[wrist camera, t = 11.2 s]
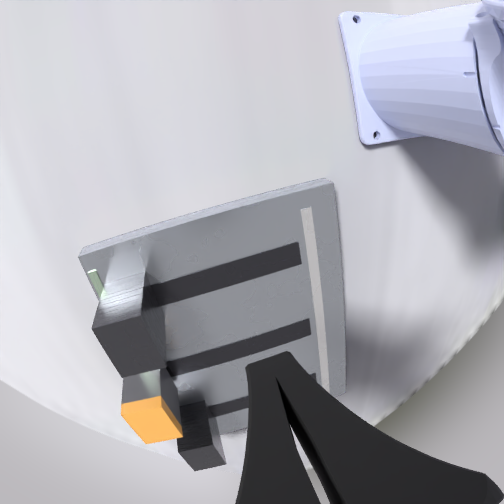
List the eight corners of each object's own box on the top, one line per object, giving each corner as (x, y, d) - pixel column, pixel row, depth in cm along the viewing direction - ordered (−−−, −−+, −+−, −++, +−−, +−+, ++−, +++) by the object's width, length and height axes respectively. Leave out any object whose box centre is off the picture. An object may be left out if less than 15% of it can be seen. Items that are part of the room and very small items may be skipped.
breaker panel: (323, 177, 18) (374, 204, 13) (340, 383, 26) (366, 426, 22) (83, 247, 16) (56, 297, 12) (185, 431, 24) (193, 482, 20)
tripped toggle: (159, 356, 18) (161, 406, 15) (177, 389, 20) (182, 437, 16) (124, 365, 18) (120, 414, 15) (145, 396, 20) (146, 444, 16)
